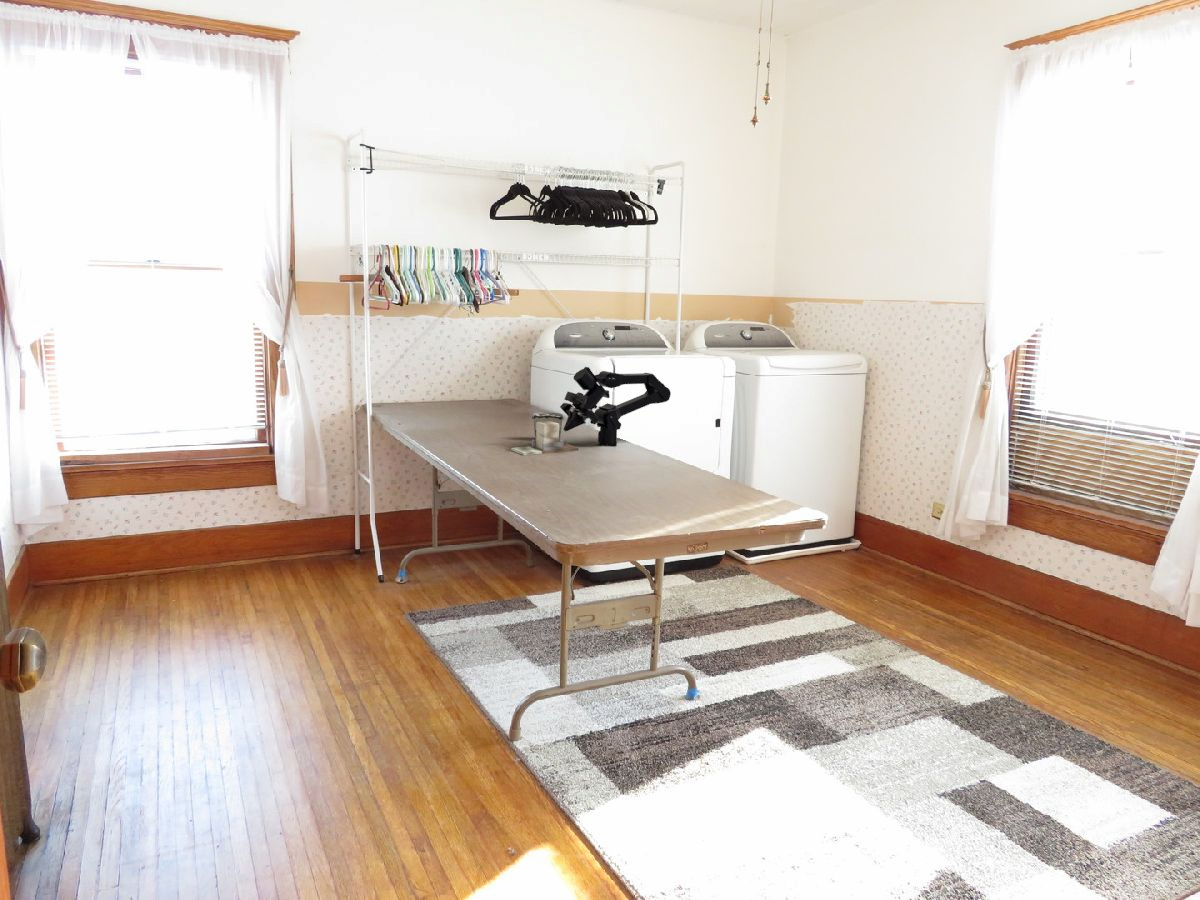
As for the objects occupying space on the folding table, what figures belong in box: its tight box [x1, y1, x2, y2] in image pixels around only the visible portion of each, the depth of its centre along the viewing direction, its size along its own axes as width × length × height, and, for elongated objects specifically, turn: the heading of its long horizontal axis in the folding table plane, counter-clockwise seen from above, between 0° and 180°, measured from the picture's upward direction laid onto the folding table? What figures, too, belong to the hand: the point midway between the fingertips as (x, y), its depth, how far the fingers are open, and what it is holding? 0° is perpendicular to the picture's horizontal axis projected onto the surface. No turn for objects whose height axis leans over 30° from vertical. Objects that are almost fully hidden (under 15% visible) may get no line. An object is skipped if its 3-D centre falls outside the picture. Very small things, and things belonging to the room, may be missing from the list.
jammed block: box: [536, 421, 560, 449], centre depth 310 cm, size 6×6×9 cm
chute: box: [510, 438, 579, 456], centre depth 310 cm, size 22×10×3 cm, turn 123°
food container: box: [531, 411, 565, 442], centre depth 331 cm, size 12×6×10 cm, turn 84°
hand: (564, 430), depth 313 cm, fingers closed
